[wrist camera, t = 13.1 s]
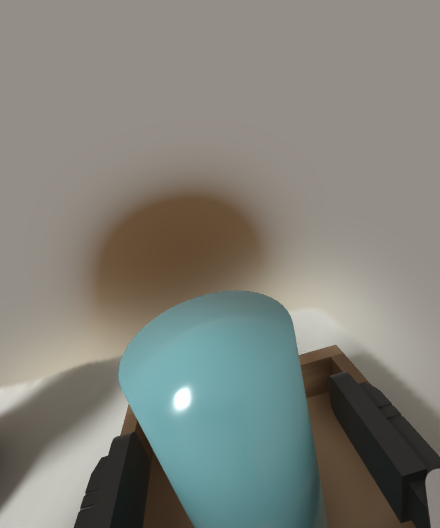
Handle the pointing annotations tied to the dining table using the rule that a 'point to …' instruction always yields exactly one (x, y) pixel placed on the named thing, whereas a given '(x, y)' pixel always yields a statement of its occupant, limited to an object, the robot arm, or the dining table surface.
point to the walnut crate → (327, 451)
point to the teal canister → (227, 411)
